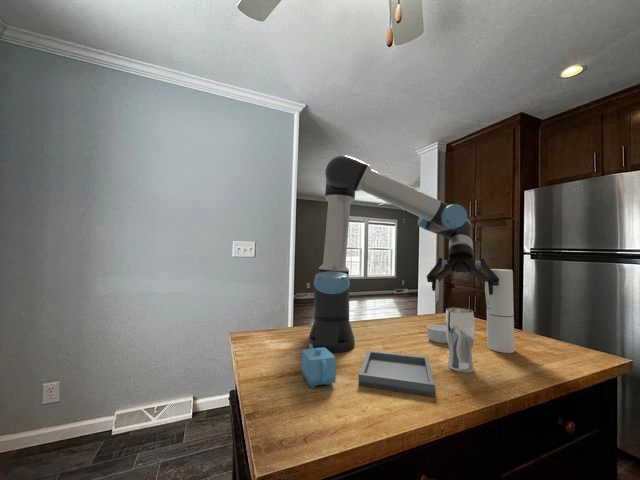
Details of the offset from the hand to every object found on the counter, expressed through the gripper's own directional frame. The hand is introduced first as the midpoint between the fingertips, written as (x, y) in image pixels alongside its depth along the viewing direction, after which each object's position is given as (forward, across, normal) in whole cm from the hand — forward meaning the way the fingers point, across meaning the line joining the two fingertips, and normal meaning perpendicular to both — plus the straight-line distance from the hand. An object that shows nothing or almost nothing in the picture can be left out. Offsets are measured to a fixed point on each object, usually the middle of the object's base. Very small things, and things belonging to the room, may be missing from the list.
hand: (461, 300), depth 81 cm
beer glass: (+19, 0, -4) cm, 19 cm away
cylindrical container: (+3, -11, -20) cm, 23 cm away
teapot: (+36, +30, +13) cm, 49 cm away
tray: (+28, +14, +5) cm, 31 cm away
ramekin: (+2, +7, -21) cm, 22 cm away
